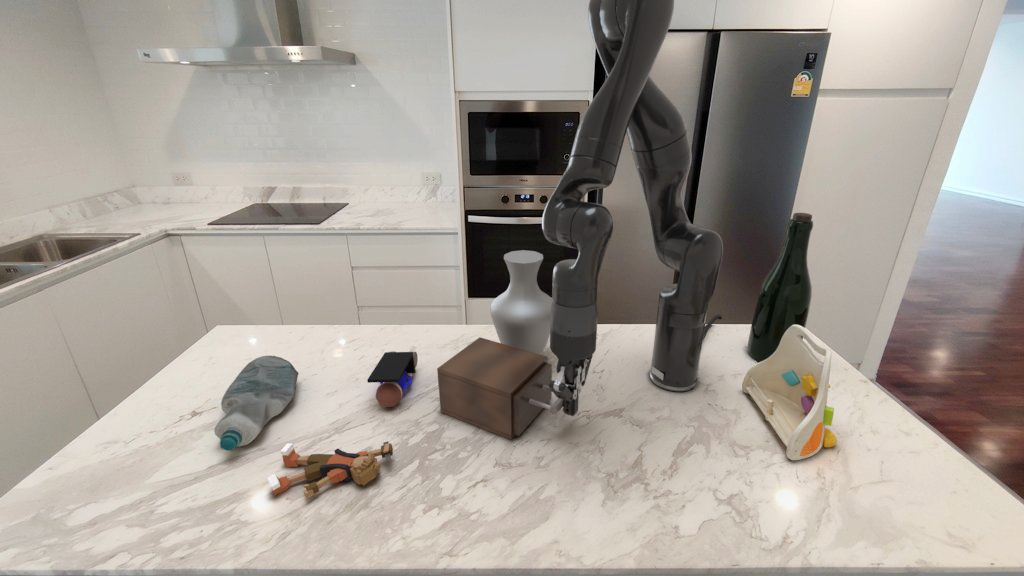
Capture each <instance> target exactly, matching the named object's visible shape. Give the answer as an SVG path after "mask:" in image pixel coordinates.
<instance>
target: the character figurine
mask: <svg viewBox="0 0 1024 576" xmlns="http://www.w3.org/2000/svg"><path fill="white" fill-rule="evenodd" d="M280 454H281V456H282V461H283V463H284V466H285V467H286V468H287V467H288V468H289V467H291V468H297V467H299V466H300V465H303V466H304V465H305V466H306V467H304V468H303V469H304V470H303V471H302V472H300V473H297V474H294V475H292V476H289V477H288V476H281V477H278V476H277V475H276V473H273V474H272V475H269V476H268V477H267V481H268V484H269V486H270V488H271V490H272V493H273V495H274V496H277V495H279V494H281V493H283V492H285V491H288V490H289V489H290V487H291V485H292V484H296V483H299V482H301V481H305V480H306V481H307V482H309V481H313V480H314V481H313V482H311V483H305V484H303V488H304V490H303V491H302V493H303V496H304V497H305V498H306V499H310V498H311V497H312V496H314V495H316V494H317V493H319V492H320V489H323V488H324V487H326V486H327V485H329V484H331V485H333V484H338V483H339V482H342V481H344V482H348V481H350V480H351V479H352V480H353V481H354V482H355V483H356V484H357V485H362V486H365V485H367V484H369V483H370V482H371V481H372V480H374V479H375V478H376V477H377V475H378V474H379V473H380V472H381V465H380V462H378V458H377V457H379V456H381V458H382V459H384V458H385V459H384V460H385V462H389V461H391V460H392V456H394V448H393V444H392V443H390V442H389V441H385V442H382V445H380V448H378V449H374V450H370V451H365V450H364V451H358V452H355V453H354V452H353V453H352V452H347V451H344V450H341V449H340V448H336V449H334V454H331V453H330V454H329V453H311V454H310V455H309V454H308V455H302V456H301V455H300V454H299V453H296V450H295V447H294V444H293V443H286V444H285V446H284V447H283V448H282V449H281V450H280ZM321 477H322V478H321ZM319 478H321V479H319ZM316 479H319V480H318V481H315V480H316Z"/></svg>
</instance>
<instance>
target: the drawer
mask: <svg viewBox="0 0 1024 576" xmlns="http://www.w3.org/2000/svg"><path fill="white" fill-rule="evenodd" d="M552 371H553V364H552V363H549V362H548V363H546V364H545V365H544V366H543V367H542V368H541V369H540V370H539V371H537V372H536V373H535V374H534V375H533V376H532V377H531V378H530V379H529V380H528V381H527V382H526V383H525V384H524V386H523V387H522V388H521V389H520V390H519V391H518V392H517V393H516V394H515V395H514V396H513V434H515V436H517V437H519V436H520V435H521V434H522V433H523V432H524V431H525V430H526V429H527V427H528V426H529V425H530V424H531V423H532V422H533V421H534V419H536V417H538V415H539V414H540V412H541V411H542V410H543V409H546V410H549V411H550V414H552V415H555V416H556V415H558V414H559V413H560V411H561V410H562V409H563V399H560V398H557V399H556V400H555V401H554V403H553V404H552V405H550V404H548V403H549V402H550V401H551V400H552V393H553V391H552V390H551V389H550V387H549V383H550V381H551V380H552V379H553V372H552Z"/></svg>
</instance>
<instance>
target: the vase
mask: <svg viewBox="0 0 1024 576" xmlns="http://www.w3.org/2000/svg"><path fill="white" fill-rule="evenodd" d="M503 260H504V262H505V264H506V267H507V270H508V272H509V280H510V282H509V284H508V287H507V289H506V290H505V291H504V292H501V294H499V295H497V297H495V299H494V300H492V302H491V305H490V310H489V311H490V318H491V321H492V324H493V326H494V329H495V332H496V334H497V338H498V340H499V343H501V344H505V345H508V346H512V347H515V348H519V349H522V350H526V351H529V352H533V353H536V354H540V355H543V353H544V350H545V348H546V346H547V344H548V342H549V339H550V311H551V304H552V296H550V295H548V294H547V293H546V292H544V291H542V290H541V289H540V287H539V284H538V280H537V278H538V272H539V270H540V266H541V264H542V262H543V260H544V254H542V253H540V252H538V251H534V250H528V249H527V250H525V249H521V250H512V251H510V252H507V253H505V254H504V255H503Z"/></svg>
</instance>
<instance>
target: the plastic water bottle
mask: <svg viewBox="0 0 1024 576" xmlns="http://www.w3.org/2000/svg"><path fill="white" fill-rule="evenodd" d="M298 378H299V372H298V371H297V369H296V368H295V367H294V365H293V364H292V363H291V361H289V360H287V359H285V358H283V357H279V356H276V355H262V356H258V357H256V358H254V359H253V360H252V361H250V362H248V364H246V365H245V367H244V368H242V369H241V371H240V372H239V373H238V374H237V376H236V377H235V379H234V380H233V381H232V382H231V384H230V385H229V386H228V387H227V389H226V391H225V393H224V395H223V396H222V398H221V402H220V403H221V404H220V406H221V410H222V411H223V412H224V413H225V416H223V417H222V418H221V419H219V421H218V423H217V424H215V427H214V429H213V432H214V435H215V436H216V437H217V438H218V439H219V440H220V441H219V446H220V448H221V449H223V450H224V451H233V450H234V449H235V448H237V447H244V446H245V447H246V446H248V445H249V444H250V443H252V442H253V441H254V440H255V439H256V438H257V437H258V435H259V434H260V433H261V431H262V430H263V429H264V427H265V425H266V424H267V423H268V422H269V421H270V420H271V419H273V418H274V417H276V416H278V415H279V414H281V413H282V412H283V411H284V410H285V409H286V407H288V405H289V403H290V402H291V400H292V399H293V398H294V397H295V395H296V388H297V383H298Z"/></svg>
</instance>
